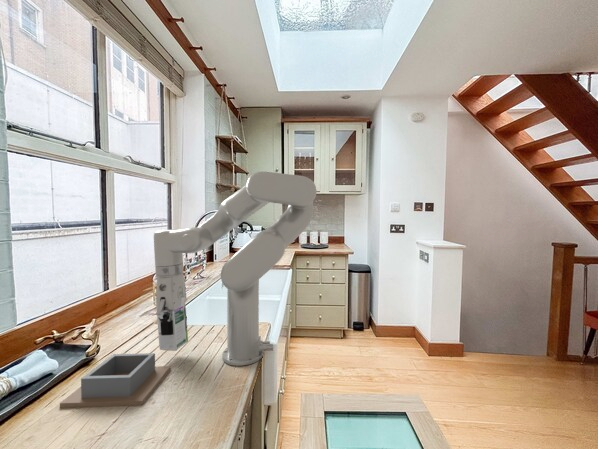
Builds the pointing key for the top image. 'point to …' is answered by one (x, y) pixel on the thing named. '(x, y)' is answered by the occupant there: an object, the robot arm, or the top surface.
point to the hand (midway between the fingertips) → (172, 328)
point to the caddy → (118, 382)
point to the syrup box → (175, 329)
